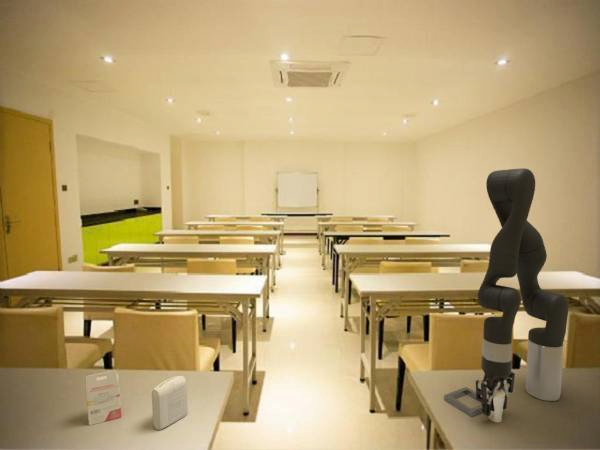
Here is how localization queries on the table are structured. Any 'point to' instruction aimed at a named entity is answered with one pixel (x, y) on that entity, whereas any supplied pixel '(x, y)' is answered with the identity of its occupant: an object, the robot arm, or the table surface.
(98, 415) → the ink cartridge box
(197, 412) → the table surface
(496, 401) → the milkshake
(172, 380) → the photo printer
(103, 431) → the table surface
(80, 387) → the table surface
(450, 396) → the grey square frame
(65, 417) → the table surface
